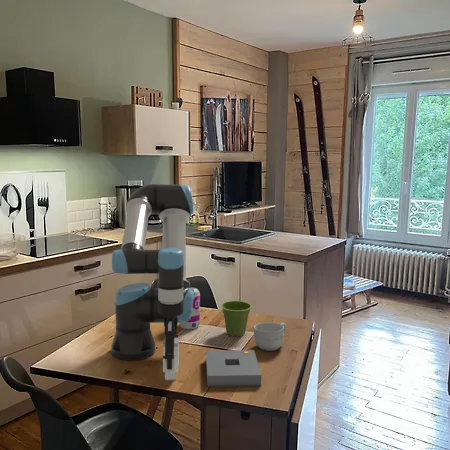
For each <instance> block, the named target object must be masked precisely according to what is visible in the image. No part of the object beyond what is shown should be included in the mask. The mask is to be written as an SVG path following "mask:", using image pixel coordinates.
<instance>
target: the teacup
mask: <svg viewBox="0 0 450 450" xmlns="http://www.w3.org/2000/svg"><path fill="white" fill-rule="evenodd" d="M287 330H288V327H287V324H286V323H284V322H281V323H278V322H272V321H271V322H270V321H268V322H265V321H264V322H259V323H256V324H255V325H254V326H253V331H254V332H253V336H254V337H253V338H254V344H255V345H256V346H257V347H258V348H260V349H261V350H262V351H265V352H266V351H268V352H270V351H272V352H273V351H276V350H278V349H279V348H280V347H282V345H283V344H284V342H285V341H284V338H285V334H286V333H287Z"/></svg>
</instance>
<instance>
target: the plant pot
mask: <svg viewBox="0 0 450 450" xmlns="http://www.w3.org/2000/svg"><path fill="white" fill-rule="evenodd" d="M220 307H221V308H222V313H223V319H224V325H225V330H226V334H227V335H229V336H232V337H242V336H244V335H245V334H246V330H247V325H248V319H249V315H250V312H251V309H252V307H253V305H252V304H251V303H250V302H247V301H243V300H228V301H225V302H222V303H221V304H220Z"/></svg>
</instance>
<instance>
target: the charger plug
mask: <svg viewBox="0 0 450 450" xmlns="http://www.w3.org/2000/svg"><path fill="white" fill-rule="evenodd" d="M179 338H180V337H178V338H174V379H165V381H176V380H177V379H176V378H177V373H178V372H179V367H180V366H179V365H180V363H179V359H180V358H179V356H180V355H179V352H180V351H179V350H180V349H179V346H180V345H179V342H180V339H179ZM163 356H165V337H164V338H163V341H162V357H163ZM162 373H165V359H163V358H162Z"/></svg>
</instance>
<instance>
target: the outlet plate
mask: <svg viewBox="0 0 450 450" xmlns="http://www.w3.org/2000/svg"><path fill="white" fill-rule="evenodd" d="M205 366H206V367H205V368H206V384H207V385H206V387H207V388H215V387H216V388H220V387H224V388H225V387H226V388H227V387H229V388H230V387H237V388H238V387H262V373H261V369H260V366H259V361H258V359H257V356H256V351H255V350H254V349H249V350H247V349H244V350H243V349H241V350H239V349H235V350H234V349H233V350H232V349H231V350H230V349H229V350H219V349H218V350H205Z"/></svg>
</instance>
